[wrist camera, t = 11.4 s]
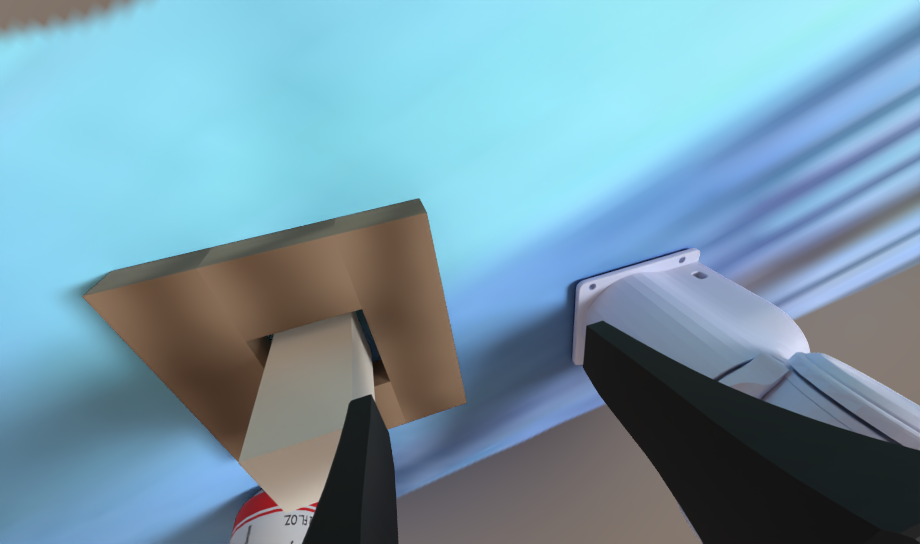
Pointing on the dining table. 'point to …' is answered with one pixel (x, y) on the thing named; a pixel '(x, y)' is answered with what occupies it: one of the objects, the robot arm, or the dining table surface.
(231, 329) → the slotted board
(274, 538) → the beer can
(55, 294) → the dining table surface
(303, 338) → the peg
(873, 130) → the dining table surface
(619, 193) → the dining table surface
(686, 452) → the robot arm
